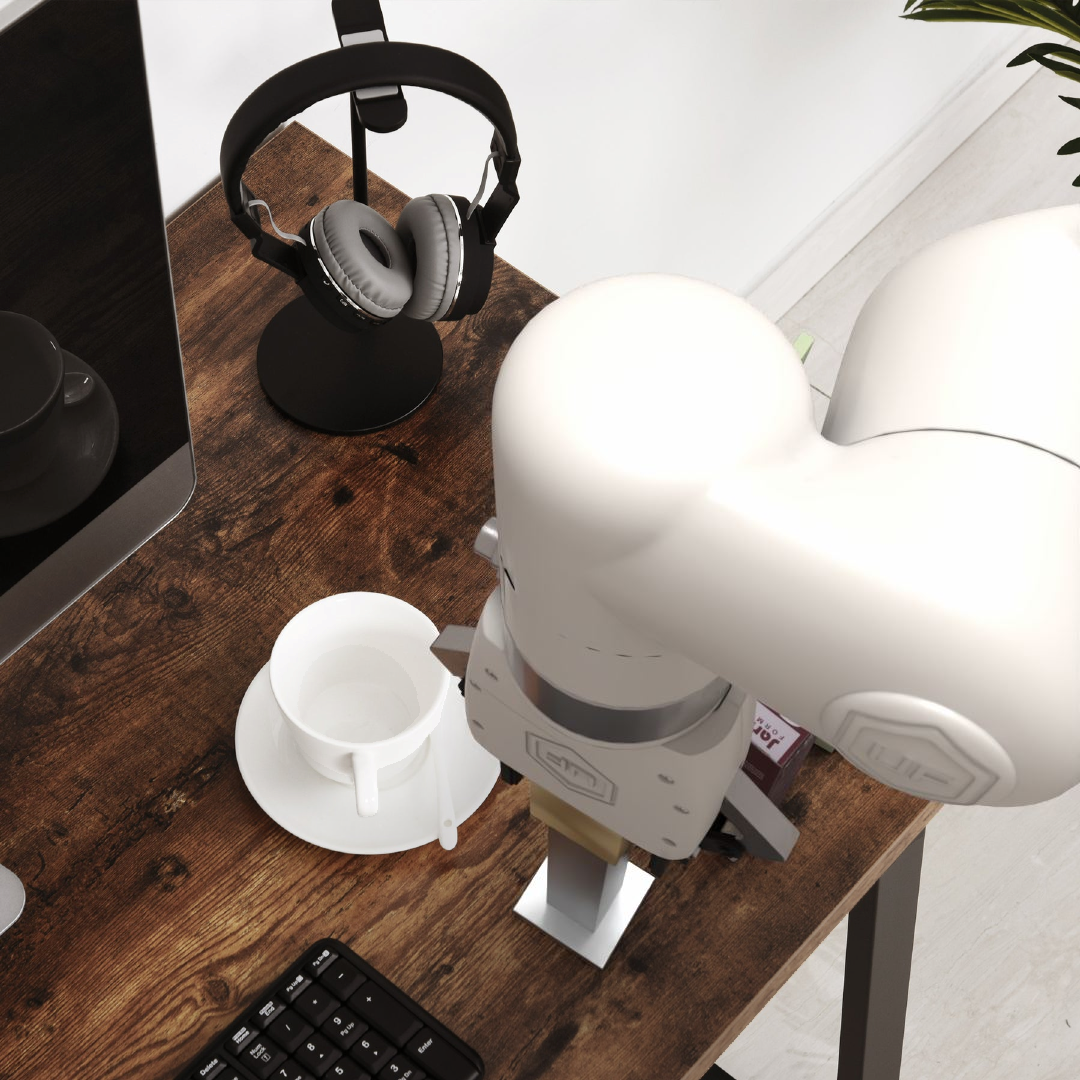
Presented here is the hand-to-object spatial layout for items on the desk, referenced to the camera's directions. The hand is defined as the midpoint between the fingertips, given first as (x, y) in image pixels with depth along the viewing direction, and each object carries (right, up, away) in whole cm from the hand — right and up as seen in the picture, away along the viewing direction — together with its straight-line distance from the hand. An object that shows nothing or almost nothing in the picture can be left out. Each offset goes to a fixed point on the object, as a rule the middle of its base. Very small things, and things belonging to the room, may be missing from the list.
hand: (597, 799), depth 51 cm
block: (0, 0, 0) cm, 0 cm away
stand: (0, -9, +15) cm, 18 cm away
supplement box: (+7, -4, +19) cm, 21 cm away
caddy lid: (+9, +15, +13) cm, 21 cm away
